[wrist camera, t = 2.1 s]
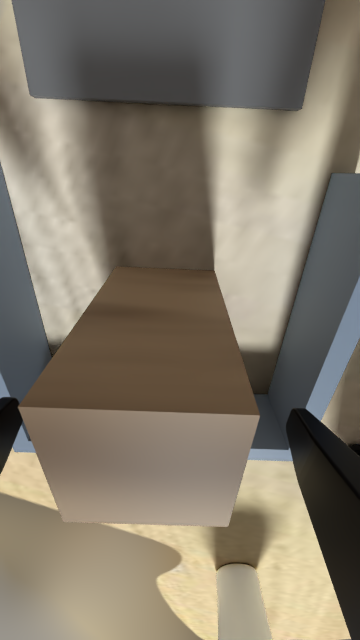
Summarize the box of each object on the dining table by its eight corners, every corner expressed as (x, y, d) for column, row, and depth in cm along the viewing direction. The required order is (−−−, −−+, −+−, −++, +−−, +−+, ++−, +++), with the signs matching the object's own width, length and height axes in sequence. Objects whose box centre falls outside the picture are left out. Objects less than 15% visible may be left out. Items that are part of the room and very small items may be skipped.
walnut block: (205, 349, 16) (227, 526, 8) (123, 346, 16) (63, 521, 8) (214, 270, 13) (259, 415, 5) (116, 266, 13) (18, 406, 5)
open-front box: (278, 405, 18) (301, 461, 14) (47, 397, 18) (14, 451, 14) (355, 174, 11) (435, 175, 7) (-26, 156, 11) (-125, 149, 7)
